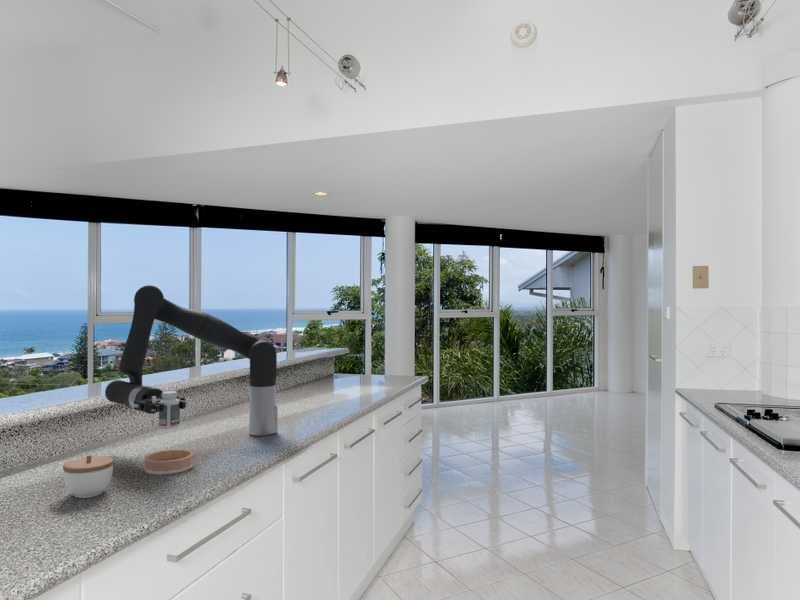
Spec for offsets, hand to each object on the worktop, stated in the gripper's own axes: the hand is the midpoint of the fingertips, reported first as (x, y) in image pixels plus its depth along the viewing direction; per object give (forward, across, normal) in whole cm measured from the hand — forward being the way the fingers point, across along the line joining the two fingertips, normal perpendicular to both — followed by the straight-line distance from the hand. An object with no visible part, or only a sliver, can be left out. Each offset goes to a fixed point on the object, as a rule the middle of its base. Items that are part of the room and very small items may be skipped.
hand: (173, 406), depth 151 cm
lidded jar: (+4, -23, +18) cm, 29 cm away
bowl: (-2, 0, +18) cm, 18 cm away
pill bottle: (-3, 0, +6) cm, 7 cm away
